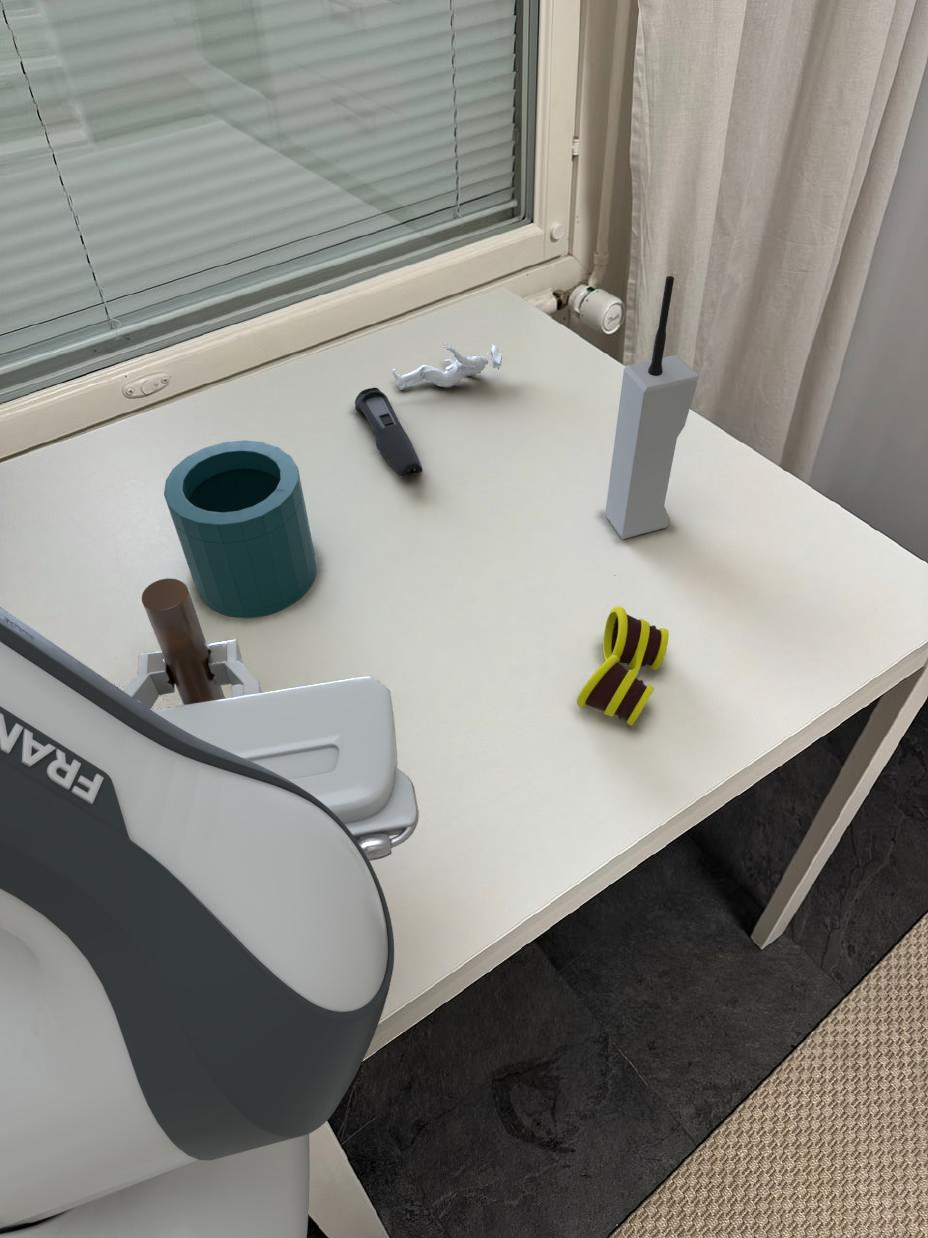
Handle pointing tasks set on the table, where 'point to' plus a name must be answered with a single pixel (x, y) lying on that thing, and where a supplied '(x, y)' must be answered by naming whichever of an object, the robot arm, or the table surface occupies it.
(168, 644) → the brush
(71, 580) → the table surface
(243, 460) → the cup
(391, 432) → the electric trimmer
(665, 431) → the vintage mobile phone
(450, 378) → the soldier figure
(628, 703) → the opera glasses
